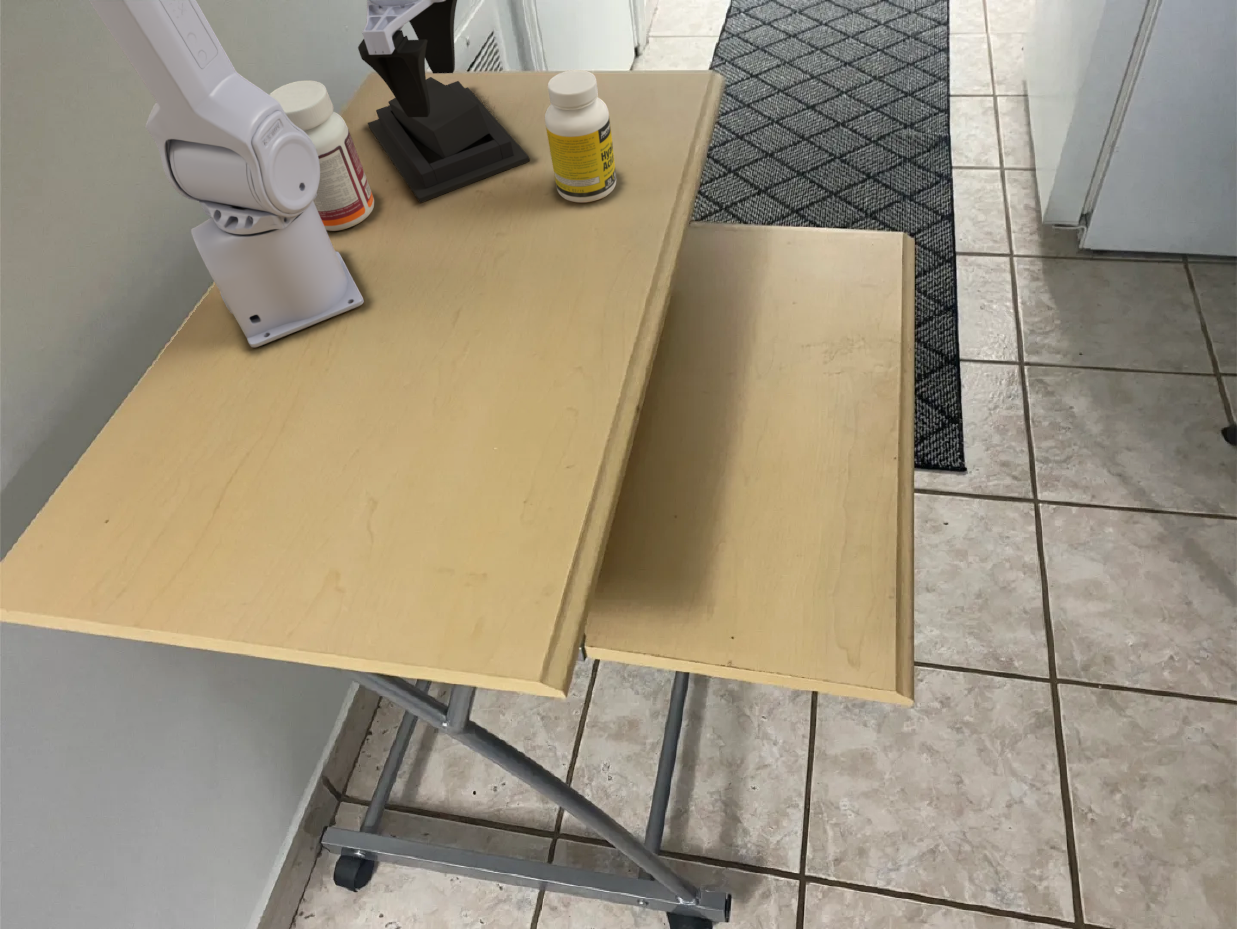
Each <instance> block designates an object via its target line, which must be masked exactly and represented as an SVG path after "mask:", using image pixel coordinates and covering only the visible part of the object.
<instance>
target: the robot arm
mask: <svg viewBox="0 0 1237 929" xmlns="http://www.w3.org/2000/svg"><path fill="white" fill-rule="evenodd" d="M88 2H89V3H90V5H91V6H92V8H93V9H94V11H95V13H96V14H97V15H98V17H99V18H100V20H101V22H102V23H103V24H104V25H105V27H106V29H107V30H108V31H109V33H110V34H111V36H112V38H113V39H114V40H115V42H116V43H117V46H118V47H119V48H120V50H121V51H122V52H123V54H124V56H125V57H126V58H127V60H128V61H129V63H130V65H131V66H132V67H133V69H134V70H135V72H136V73H137V75H138V76H139V78H140V79H141V81H142V82H143V84H144V85H145V87H146V89H147V90H148V92H149V93H150V95H151V96H152V98H153V99H154V100H155V103H154V104H153V107H152V108H151V111H150V113H149V115H148V117H147V120H146V123H145V130H146V132H148V134H149V135H150V137H151V138H152V140H153V142H154V143H155V145H156V147H157V150H158V152H159V156H160V160H161V165H162V169H163V172H164V174H165V177H166V179H167V180H168V183H169V184H170V185H171V187H172V188H173V189H174V190H175V191H176V192H177V193H178V194H179V195H181V196H182V197H184V198H186V199H188V200H191V201H196V202H198V203H199V205H200V207H201V208H202V210H203V212H204V213H205V215H206V216H208V217H209V218H208V219H207V220H205V221H203V222H201V223H200V224H198V225H196V226H194V227H193V228H191V229H190V234H191V236H192V239H193V241H194V244H195V246H196V248H197V251H198V253H199V255H200V257H201V259H202V261H203V263H204V265H205V267H206V269H207V271H208V273H209V275H210V276H211V278H212V281H213V282H214V284H215V286H216V287H217V290H218V291H219V293H220V296H221V299H222V301H223V302H224V304H225V306H226V309H227V310H228V311H229V313H230V314H232V315H233V317H234V318H235V320H236V322H237V323H238V325H239V328H240V329H241V330H242V332H243V334H244V336H245V338H246V339H247V343H248V345H249V346H250V347H251V348H258V347H261V346H263V345H266V344H269V343H272V342H274V341H276V340H279V339H282V338H284V337H286V336H288V335H290V334H293V333H296V332H299V331H301V330H303V329H306V328H308V327H311V326H313V325H316V324H318V323H320V322H323V321H326V320H328V319H330V318H333V317H336V316H338V315H340V314H343V313H345V312H348V311H351V310H353V309H356V308H358V307H360V306H362V305H363V304H364V302H365V300H364V298H363V296H362V293H361V292H360V289H359V288H358V285H357V284H356V282H355V279H354V278H353V276H352V274H351V272H350V271H349V269H348V266H347V265H346V263H345V261H344V259H343V258H342V256H341V253H340V252H339V251H338V250H337V251H336V250H335V247H334V245H333V243H332V241H331V238H330V235H329V233H328V231H327V230H326V229H325V227H324V224H323V222H322V220H321V218H320V215H319V213H318V211H317V208H316V206H315V204H314V201H313V200H314V199H315V198H316V196H317V190H318V186H319V181H320V164H319V158H318V154H317V151H316V148H315V146H314V144H313V142H312V140H311V139H310V137H309V136H308V135H307V134H306V133H305V132H304V131H303V130H302V129H300V128H299V127H297V126H296V125H294V124H293V123H292V122H291V121H290V119H289V118H288V117H287V115H286V114H285V112H284V110H283V108H282V106H281V104H280V103H279V102H278V101H277V100H276V99H274V98H273V97H271V96H270V95H269V94H270V93H267V92H266V91H265V90H263V89H262V88H260V87H259V86H257V85H256V84H254V83H253V82H251V81H250V80H249V79H247V78H245V77H244V76H242V75H241V74H240V73H239V72H238V71H237V70H236V68H235V67H234V65H233V62H232V61H231V60H230V57H229V56H228V54H227V53H226V51H225V49H224V47H223V45H222V44H221V42H220V40H219V38H218V37H217V35H216V33H215V31H214V29H213V27H212V26H211V24H210V22H209V21H208V19H207V17H206V15H205V13H204V11H203V10H202V8H201V7H200V5H199V2H198V1H197V0H88ZM457 3H458V0H366V18H365V19H366V22H365V26H364V28H363V29H362V30H361V34H362V37H363V39H362V40H361V41H360V42H359V44H358V47H357V49H358V50H357V51H358V53H359V56H360V58H361V60H362V61H363V62H365V63H366V64H367V65H368V66H369V67H370V68H371V69H373V71H375V73H376V74H378V76H379V77H380V78H381V79H382V80H383V82H384V83H385V84H386V86H387V87H388V89H389V90H390V91H391V93H392V94H393V96H394V98H396V99H397V101H398V103H399V104H400V106H401V108H402V109H403V111H404V112H405V114H406V115H407V117H428V116H429V114H430V100H429V94H428V89H427V83H426V79H427V77H426V76H427V75H426V63H427V65H428V67H429V70H430V71H431V73H432V74H433V75H434V74H435V75H437V74H454V72H455V69H456V59H455V58H456V55H455V54H456V53H455V52H456V51H455V19H456V10H457V9H456V8H457ZM407 23H409V24H410V26H411V27H412V29H413V31H414V33H415V35H416V38H417V39H409V38H408V35H404V33H403V30H402V29H403V27H404V26H405V25H406V24H407Z"/></svg>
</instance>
